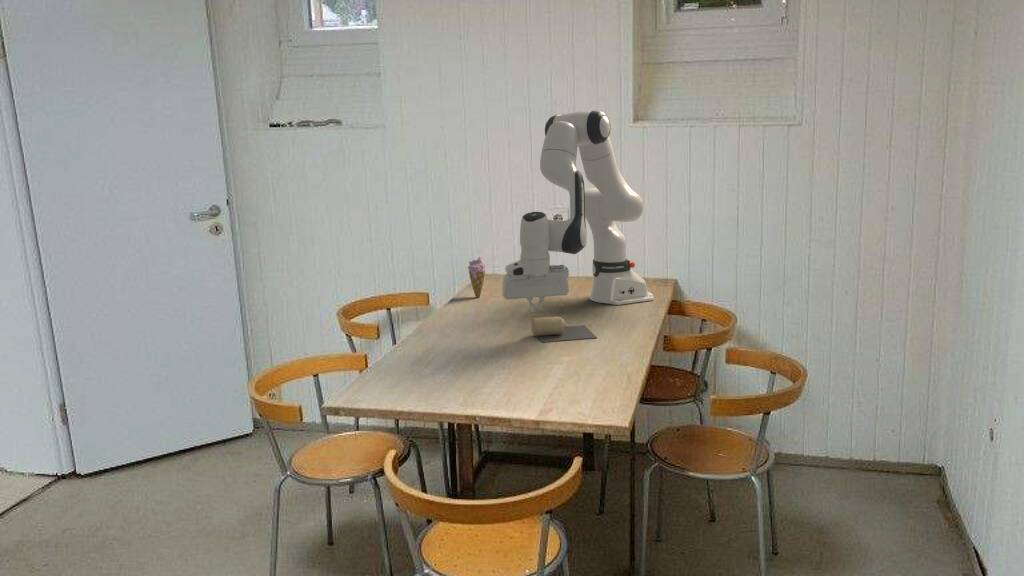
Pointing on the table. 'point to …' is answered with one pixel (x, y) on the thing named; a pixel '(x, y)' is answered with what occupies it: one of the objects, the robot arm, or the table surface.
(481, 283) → the ice cream cone
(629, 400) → the table surface
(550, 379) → the table surface
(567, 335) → the mat
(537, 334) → the candle
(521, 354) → the table surface
